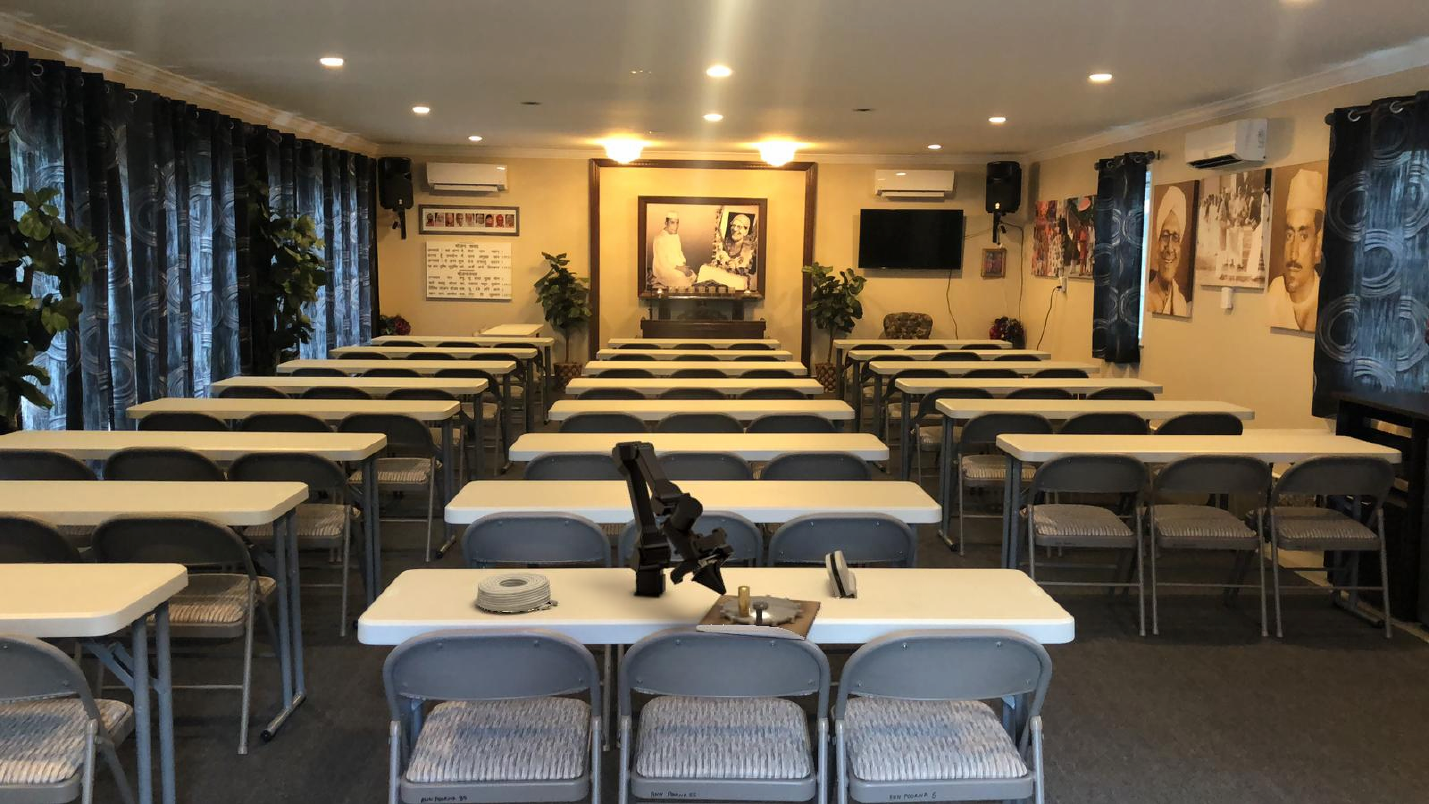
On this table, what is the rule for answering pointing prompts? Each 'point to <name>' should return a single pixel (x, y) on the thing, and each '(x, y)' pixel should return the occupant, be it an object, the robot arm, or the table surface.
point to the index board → (798, 627)
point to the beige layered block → (840, 575)
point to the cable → (515, 592)
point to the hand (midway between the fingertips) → (724, 594)
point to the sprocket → (771, 609)
